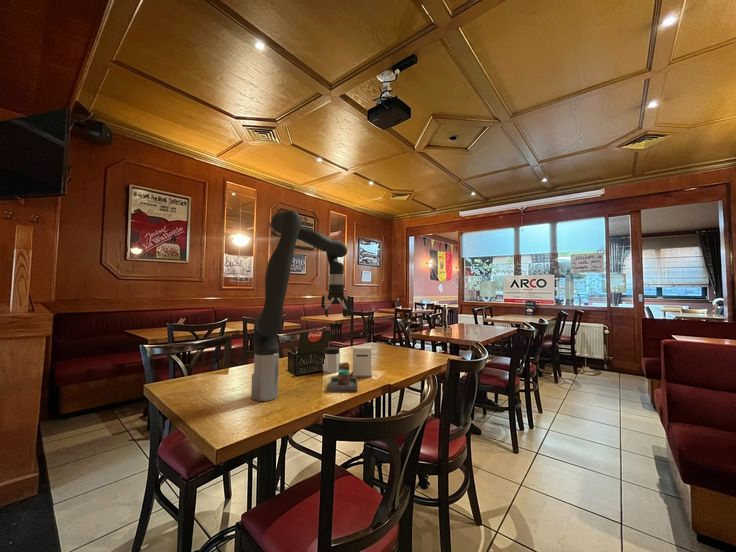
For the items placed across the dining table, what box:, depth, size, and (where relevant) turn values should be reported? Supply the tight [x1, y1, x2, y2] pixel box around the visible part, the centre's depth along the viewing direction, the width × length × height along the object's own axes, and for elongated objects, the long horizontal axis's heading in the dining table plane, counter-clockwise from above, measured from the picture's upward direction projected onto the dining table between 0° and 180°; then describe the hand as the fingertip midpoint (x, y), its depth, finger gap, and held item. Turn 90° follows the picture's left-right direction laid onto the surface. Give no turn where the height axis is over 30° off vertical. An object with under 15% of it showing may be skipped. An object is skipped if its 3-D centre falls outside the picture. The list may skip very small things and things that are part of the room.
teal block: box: [337, 369, 350, 385], centre depth 132 cm, size 4×4×6 cm
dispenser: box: [351, 345, 373, 379], centre depth 151 cm, size 10×8×14 cm
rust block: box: [339, 362, 350, 371], centre depth 150 cm, size 4×4×6 cm
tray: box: [328, 377, 359, 393], centre depth 132 cm, size 12×12×2 cm
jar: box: [322, 346, 341, 374], centre depth 159 cm, size 9×8×12 cm
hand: (335, 316), depth 147 cm, fingers open, 8 cm apart
